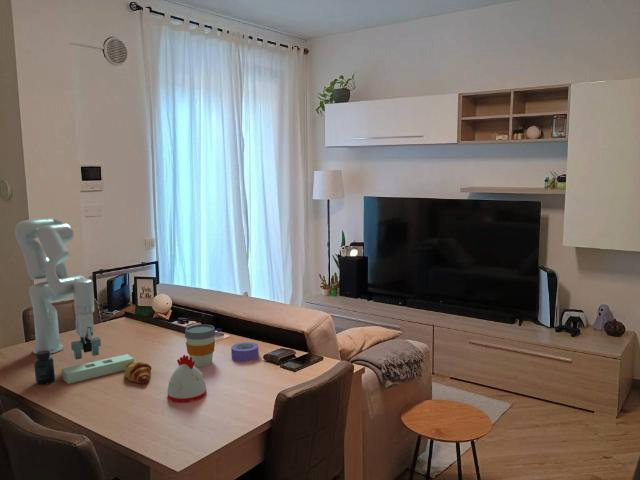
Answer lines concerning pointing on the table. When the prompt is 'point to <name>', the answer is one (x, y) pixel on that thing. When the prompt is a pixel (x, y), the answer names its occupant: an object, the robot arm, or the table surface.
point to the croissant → (138, 372)
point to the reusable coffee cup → (200, 344)
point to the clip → (78, 346)
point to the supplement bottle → (44, 368)
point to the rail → (96, 368)
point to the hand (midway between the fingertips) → (86, 349)
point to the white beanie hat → (186, 382)
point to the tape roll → (245, 351)
